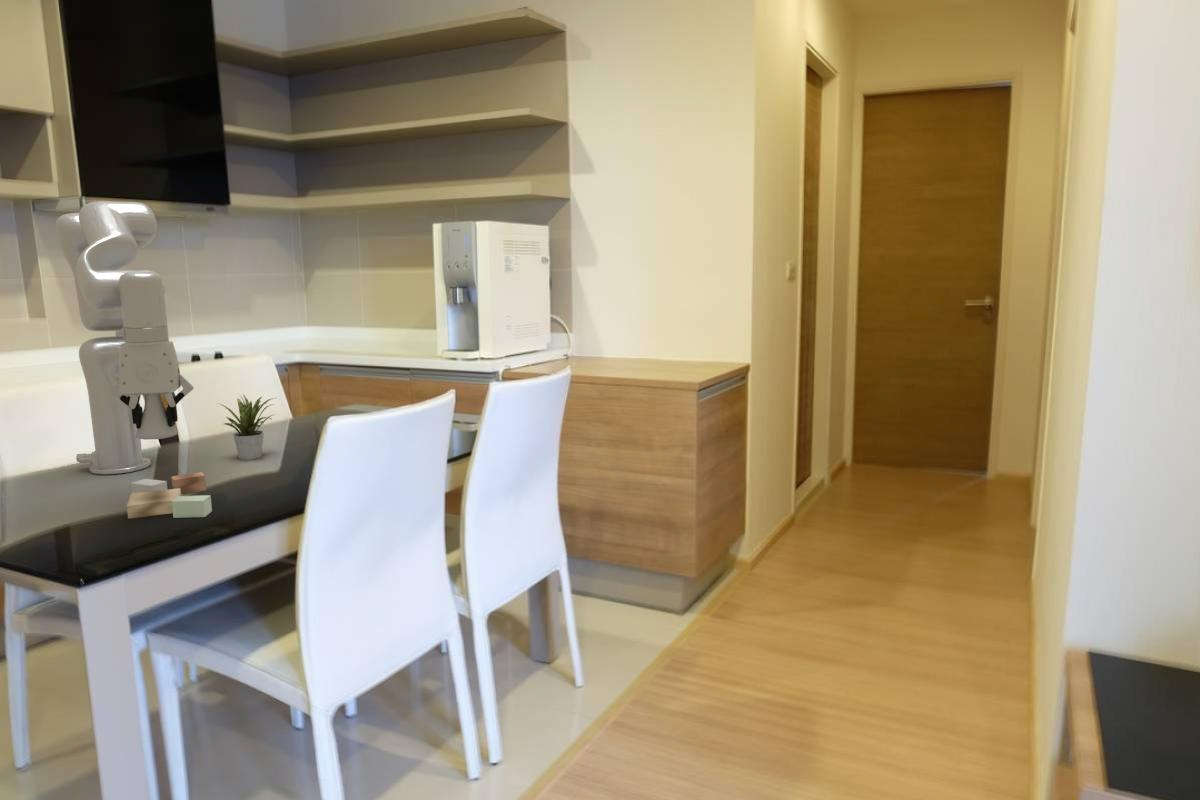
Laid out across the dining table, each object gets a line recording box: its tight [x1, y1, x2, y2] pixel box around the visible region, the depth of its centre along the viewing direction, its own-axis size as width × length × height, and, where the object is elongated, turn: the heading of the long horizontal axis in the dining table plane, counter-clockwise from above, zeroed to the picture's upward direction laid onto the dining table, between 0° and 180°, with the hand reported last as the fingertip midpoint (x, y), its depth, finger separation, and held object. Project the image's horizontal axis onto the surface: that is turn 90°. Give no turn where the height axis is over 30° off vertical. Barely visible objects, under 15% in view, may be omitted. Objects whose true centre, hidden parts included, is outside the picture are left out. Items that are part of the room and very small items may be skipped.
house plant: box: [216, 394, 278, 461], centre depth 202 cm, size 14×14×16 cm
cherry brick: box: [170, 471, 207, 495], centre depth 175 cm, size 6×4×4 cm, turn 126°
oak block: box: [126, 488, 182, 519], centre depth 162 cm, size 9×9×3 cm
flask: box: [135, 394, 179, 441], centre depth 160 cm, size 7×7×10 cm
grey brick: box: [130, 478, 168, 494], centre depth 170 cm, size 6×4×4 cm, turn 71°
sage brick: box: [172, 494, 213, 519], centre depth 159 cm, size 6×4×4 cm, turn 95°
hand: (156, 425), depth 161 cm, fingers closed on flask, 5 cm apart
